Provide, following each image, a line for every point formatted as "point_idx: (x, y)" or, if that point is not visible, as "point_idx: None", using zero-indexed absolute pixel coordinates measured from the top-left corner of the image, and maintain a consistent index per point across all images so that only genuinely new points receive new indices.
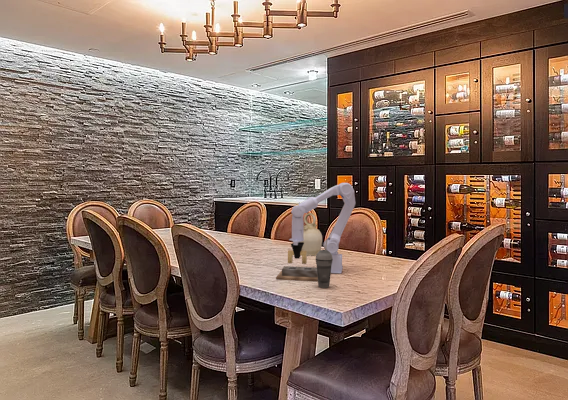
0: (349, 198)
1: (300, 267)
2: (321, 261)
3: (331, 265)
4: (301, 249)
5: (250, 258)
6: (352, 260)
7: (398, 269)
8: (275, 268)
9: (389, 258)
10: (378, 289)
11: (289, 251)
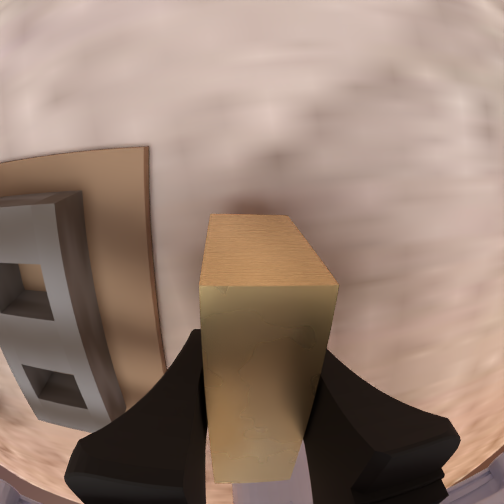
0: None
1: (64, 347)
2: None
3: None
4: (307, 456)
5: None
6: (480, 427)
7: None
8: (345, 69)
9: (464, 473)
10: (55, 485)
11: (200, 313)
